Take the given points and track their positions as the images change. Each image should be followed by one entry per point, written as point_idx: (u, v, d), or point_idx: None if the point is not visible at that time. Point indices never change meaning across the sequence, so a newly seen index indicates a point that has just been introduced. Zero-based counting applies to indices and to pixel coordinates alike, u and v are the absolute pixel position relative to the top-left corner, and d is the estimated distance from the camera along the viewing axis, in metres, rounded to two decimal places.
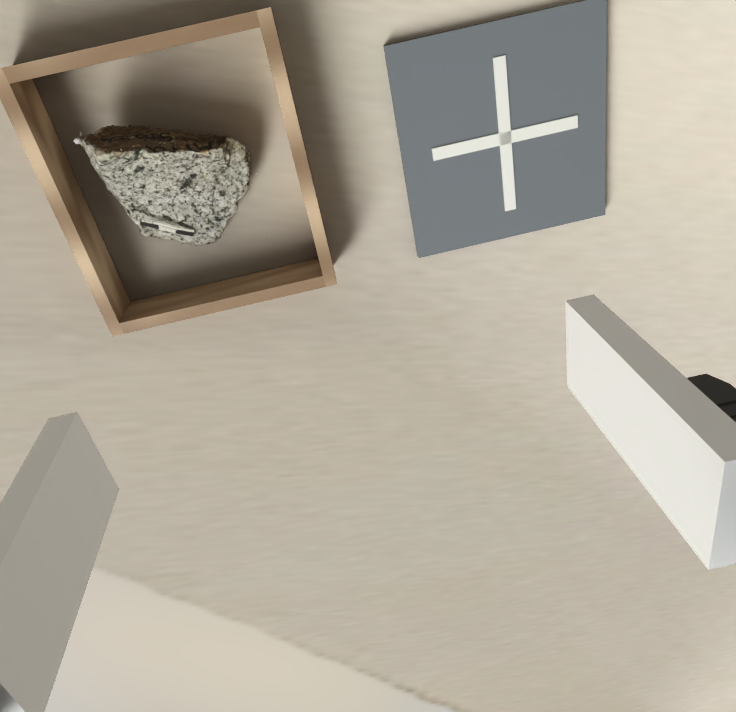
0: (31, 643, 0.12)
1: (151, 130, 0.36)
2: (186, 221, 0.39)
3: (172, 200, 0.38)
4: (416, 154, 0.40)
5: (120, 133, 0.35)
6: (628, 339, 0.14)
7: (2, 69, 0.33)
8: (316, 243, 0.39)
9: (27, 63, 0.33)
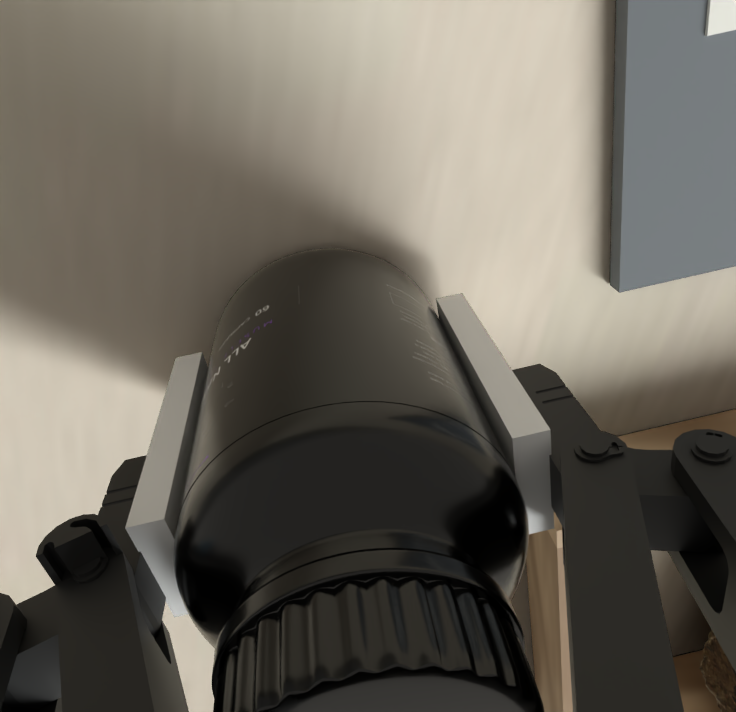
0: None
1: None
2: None
3: None
4: None
5: (724, 681, 0.26)
6: (475, 333, 0.15)
7: None
8: None
9: None
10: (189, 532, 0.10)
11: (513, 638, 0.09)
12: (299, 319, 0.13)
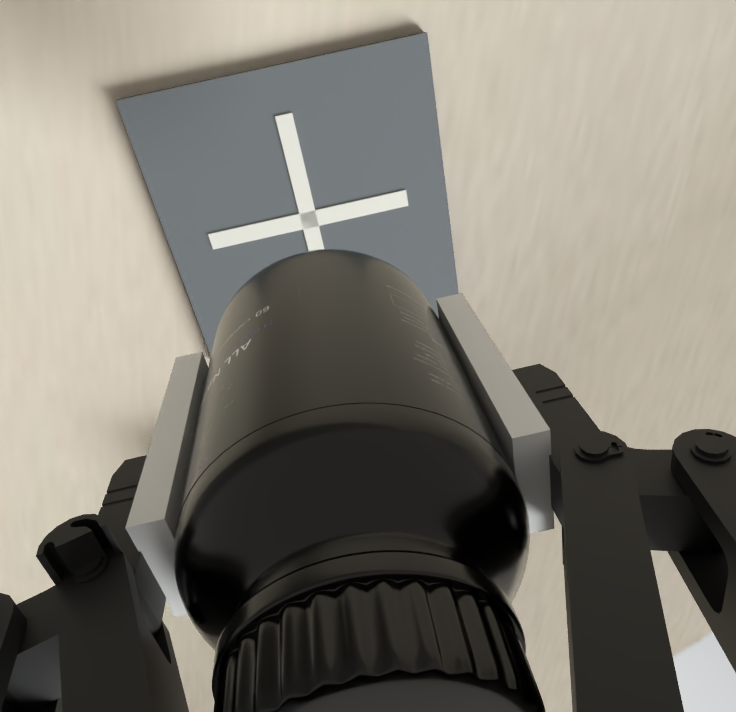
0: None
1: None
2: None
3: None
4: None
5: None
6: (475, 333, 0.15)
7: None
8: None
9: None
10: (189, 535, 0.10)
11: (514, 640, 0.09)
12: (299, 320, 0.13)
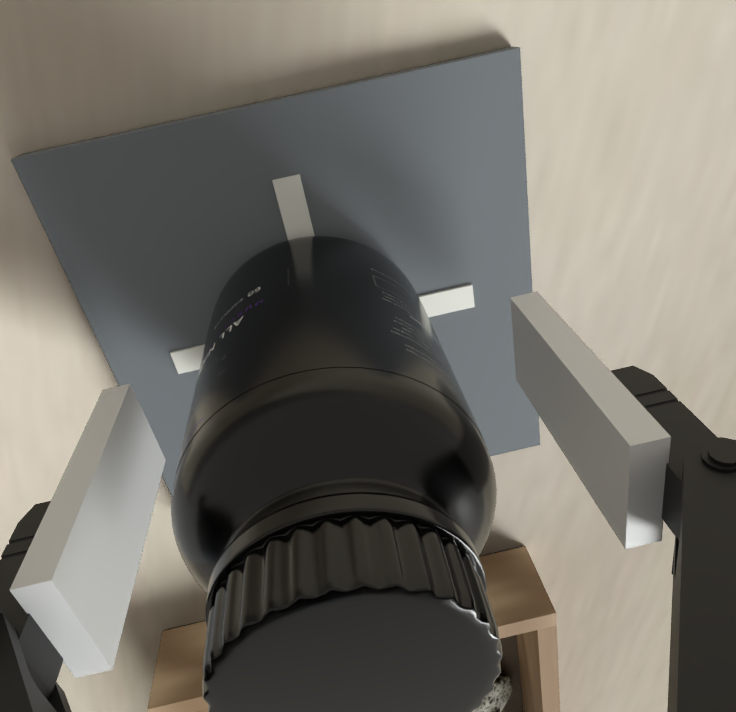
0: (103, 591, 0.12)
1: None
2: None
3: None
4: None
5: None
6: (562, 333, 0.14)
7: None
8: None
9: None
10: (185, 486, 0.11)
11: (473, 572, 0.10)
12: (287, 298, 0.14)
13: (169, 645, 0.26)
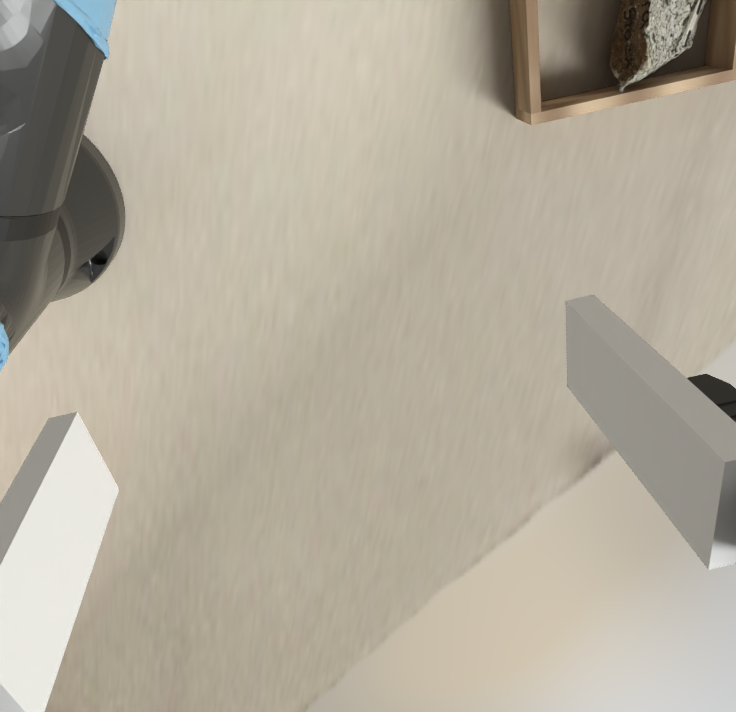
0: (31, 643, 0.12)
1: (620, 27, 0.44)
2: (691, 2, 0.45)
3: (673, 15, 0.45)
4: None
5: (620, 54, 0.45)
6: (628, 339, 0.14)
7: (532, 113, 0.46)
8: None
9: (530, 94, 0.45)
10: None
11: None
12: None
13: None
